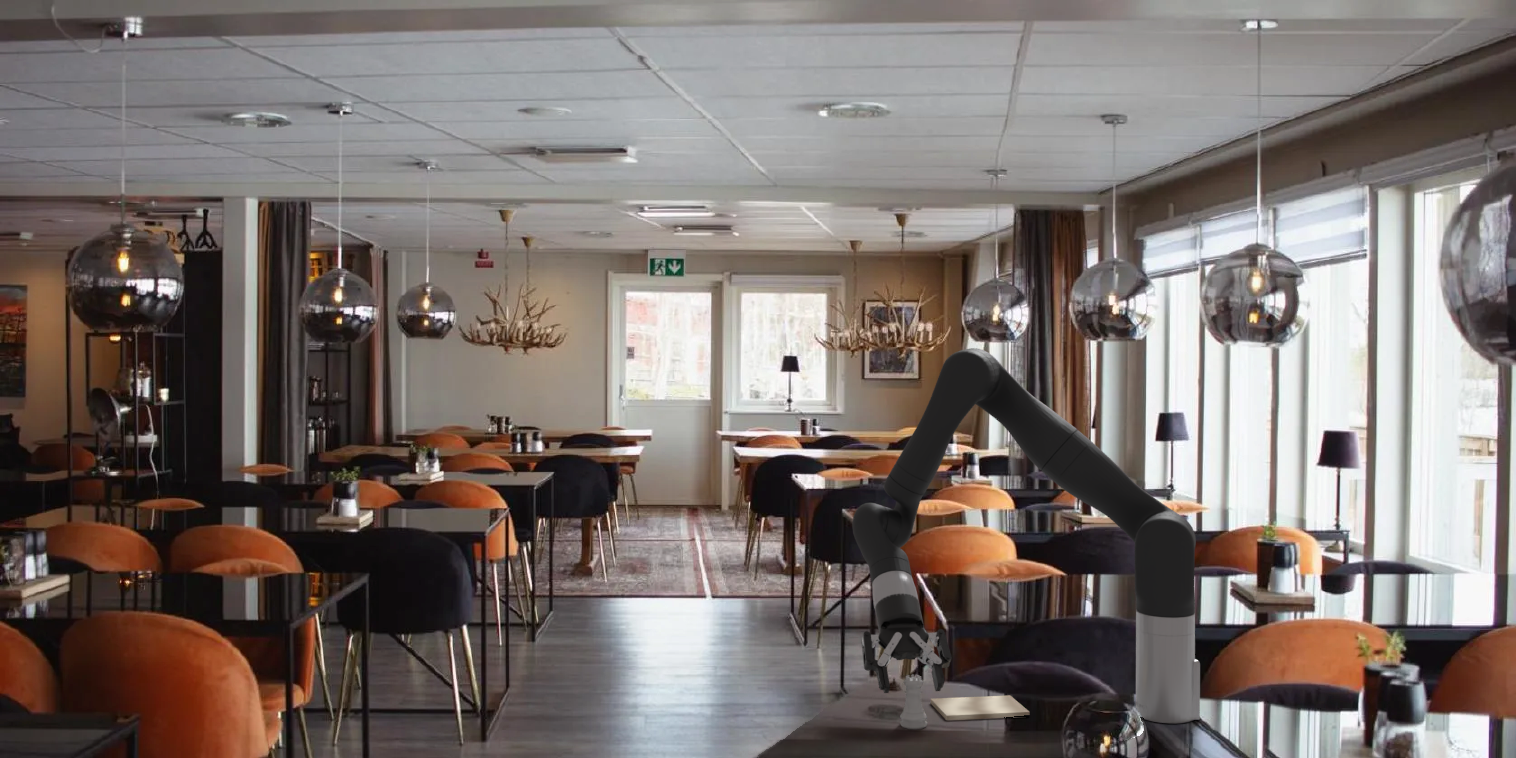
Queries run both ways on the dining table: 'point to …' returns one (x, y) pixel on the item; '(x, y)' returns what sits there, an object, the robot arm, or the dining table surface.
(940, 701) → the birch placemat
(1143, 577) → the robot arm
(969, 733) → the dining table surface
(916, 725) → the rook chess piece
